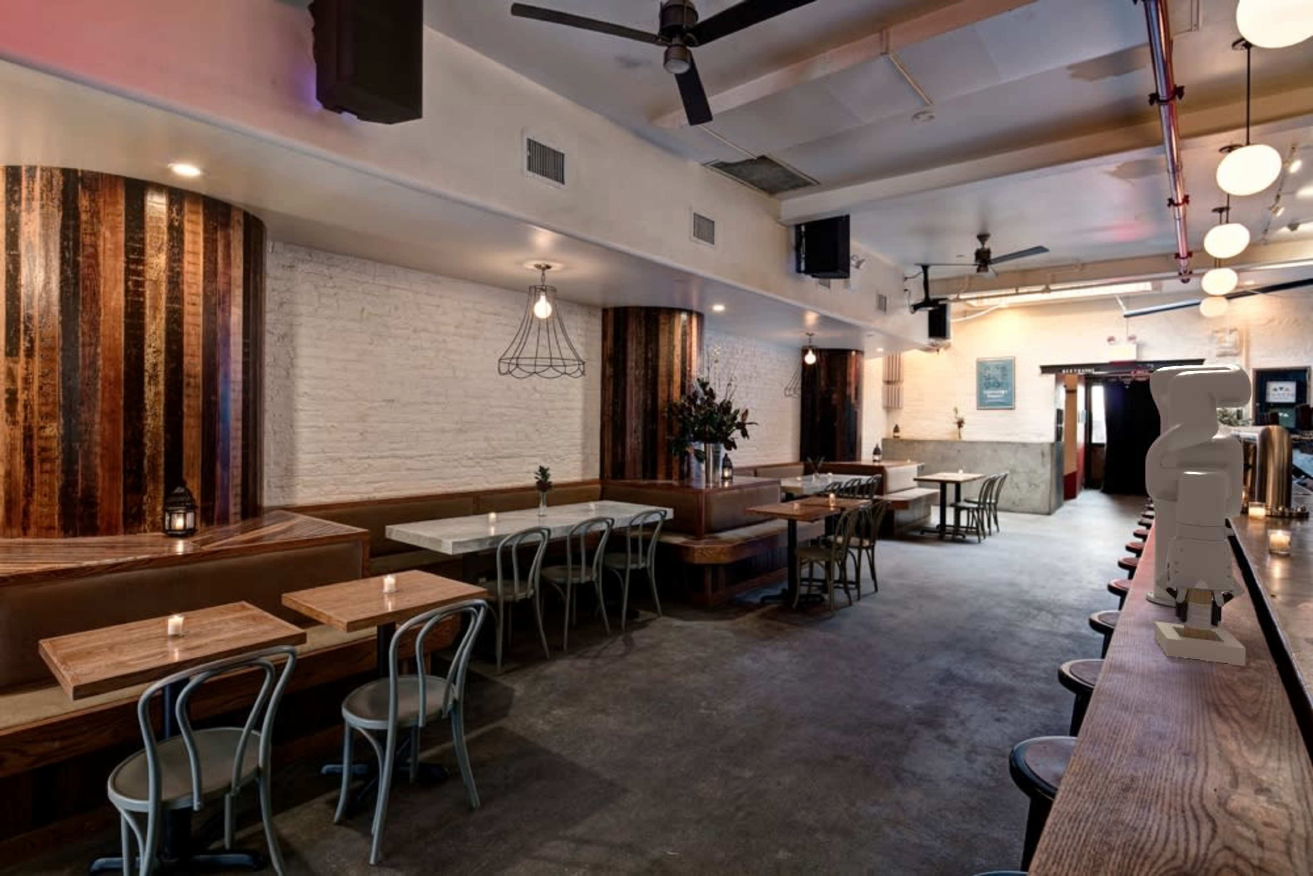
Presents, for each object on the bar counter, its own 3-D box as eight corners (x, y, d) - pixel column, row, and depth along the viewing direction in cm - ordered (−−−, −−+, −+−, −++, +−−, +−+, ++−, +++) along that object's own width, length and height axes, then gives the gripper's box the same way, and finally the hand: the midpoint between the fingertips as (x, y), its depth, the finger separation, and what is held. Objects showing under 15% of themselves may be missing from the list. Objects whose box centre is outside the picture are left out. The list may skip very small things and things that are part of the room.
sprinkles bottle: (1186, 637, 137) (1187, 573, 137) (1214, 643, 134) (1216, 577, 133) (1180, 642, 134) (1181, 576, 134) (1208, 648, 131) (1210, 581, 130)
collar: (1154, 637, 142) (1154, 621, 142) (1226, 646, 136) (1226, 629, 136) (1166, 655, 131) (1167, 638, 131) (1245, 666, 126) (1245, 648, 126)
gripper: (1248, 533, 132) (1245, 623, 133) (1145, 526, 140) (1142, 612, 141) (1261, 539, 126) (1258, 634, 127) (1152, 532, 134) (1150, 622, 134)
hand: (1197, 621), depth 134 cm, fingers closed on sprinkles bottle, 4 cm apart
